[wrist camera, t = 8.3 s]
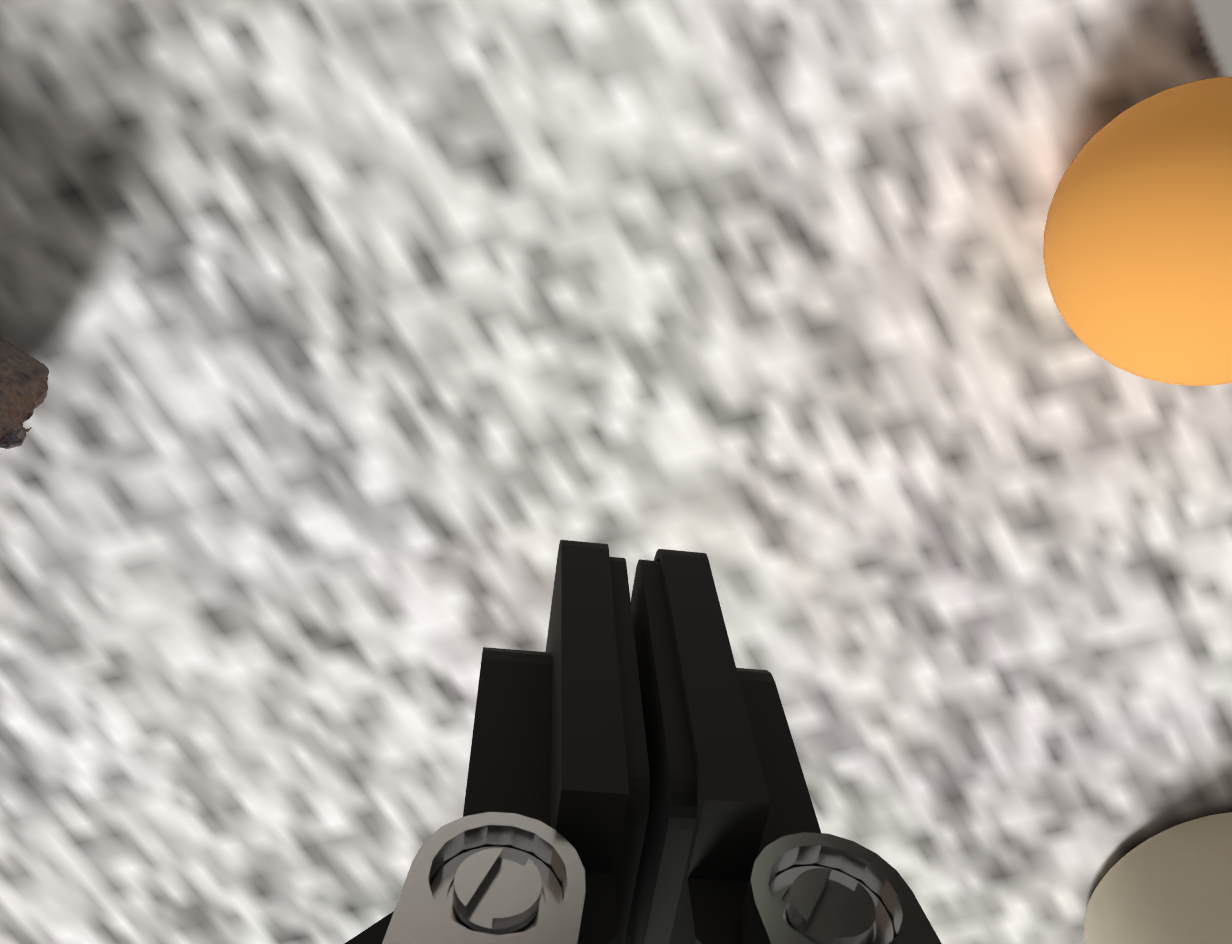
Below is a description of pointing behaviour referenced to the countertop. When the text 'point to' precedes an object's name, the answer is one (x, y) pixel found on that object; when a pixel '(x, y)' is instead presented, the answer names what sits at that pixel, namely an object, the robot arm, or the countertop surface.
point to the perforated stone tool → (19, 392)
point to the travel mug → (1168, 889)
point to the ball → (1151, 237)
